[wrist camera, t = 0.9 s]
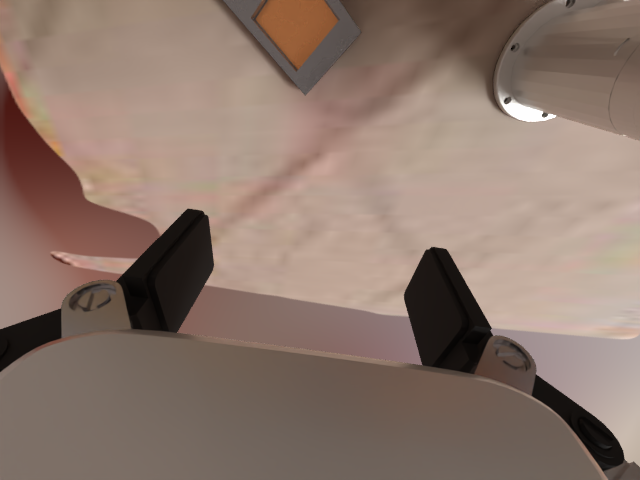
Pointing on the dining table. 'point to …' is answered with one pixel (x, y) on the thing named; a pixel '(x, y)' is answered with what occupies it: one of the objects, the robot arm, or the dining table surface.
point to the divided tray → (299, 34)
